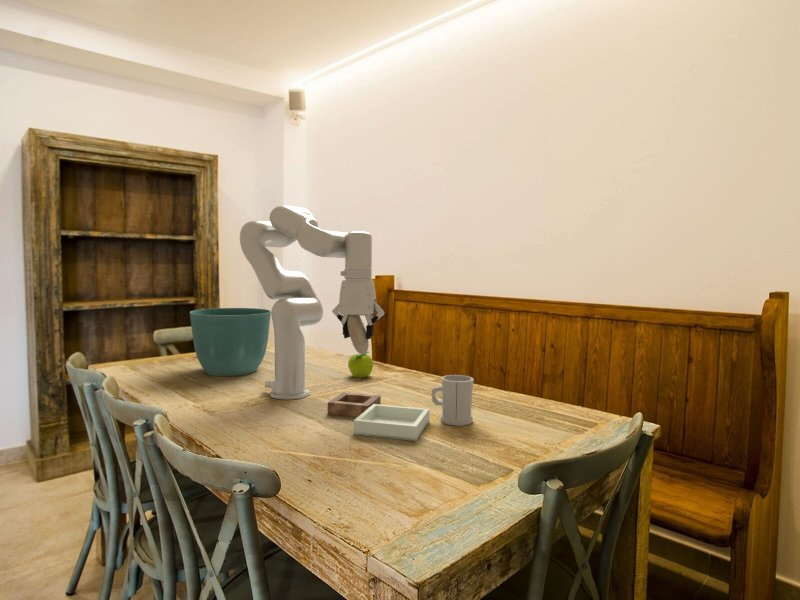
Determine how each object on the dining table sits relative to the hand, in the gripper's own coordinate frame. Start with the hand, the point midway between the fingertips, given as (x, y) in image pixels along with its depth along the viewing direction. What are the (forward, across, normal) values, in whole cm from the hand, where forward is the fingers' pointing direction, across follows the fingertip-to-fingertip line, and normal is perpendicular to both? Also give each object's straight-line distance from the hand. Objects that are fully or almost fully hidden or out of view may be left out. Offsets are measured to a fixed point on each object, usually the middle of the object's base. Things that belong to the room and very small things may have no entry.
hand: (357, 337), depth 144 cm
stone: (+5, 0, 0) cm, 5 cm away
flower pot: (+21, -65, +36) cm, 77 cm away
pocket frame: (+22, -1, +1) cm, 22 cm away
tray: (+22, +14, -11) cm, 28 cm away
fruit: (+22, -14, +43) cm, 50 cm away
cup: (+22, +28, -1) cm, 36 cm away
